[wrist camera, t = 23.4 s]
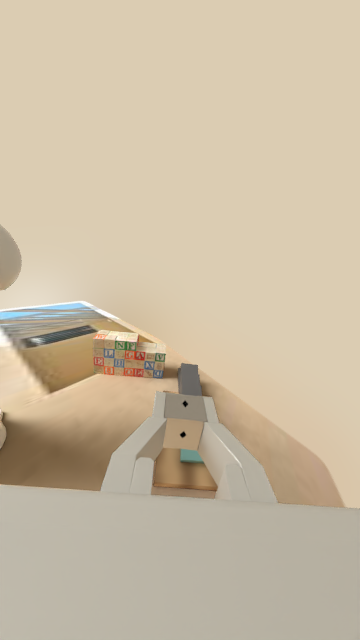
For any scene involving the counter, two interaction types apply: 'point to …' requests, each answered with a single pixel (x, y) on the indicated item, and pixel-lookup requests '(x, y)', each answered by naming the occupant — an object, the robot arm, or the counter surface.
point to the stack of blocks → (127, 355)
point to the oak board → (181, 471)
